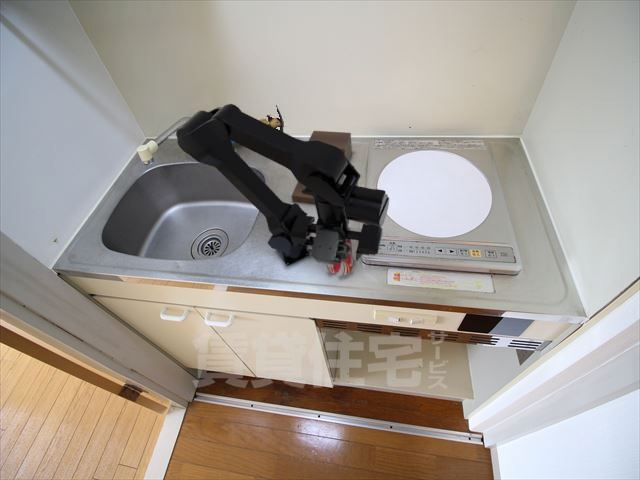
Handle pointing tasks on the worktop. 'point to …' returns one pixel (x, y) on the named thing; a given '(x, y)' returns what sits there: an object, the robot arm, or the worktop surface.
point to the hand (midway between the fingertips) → (338, 256)
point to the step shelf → (332, 138)
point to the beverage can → (342, 264)
